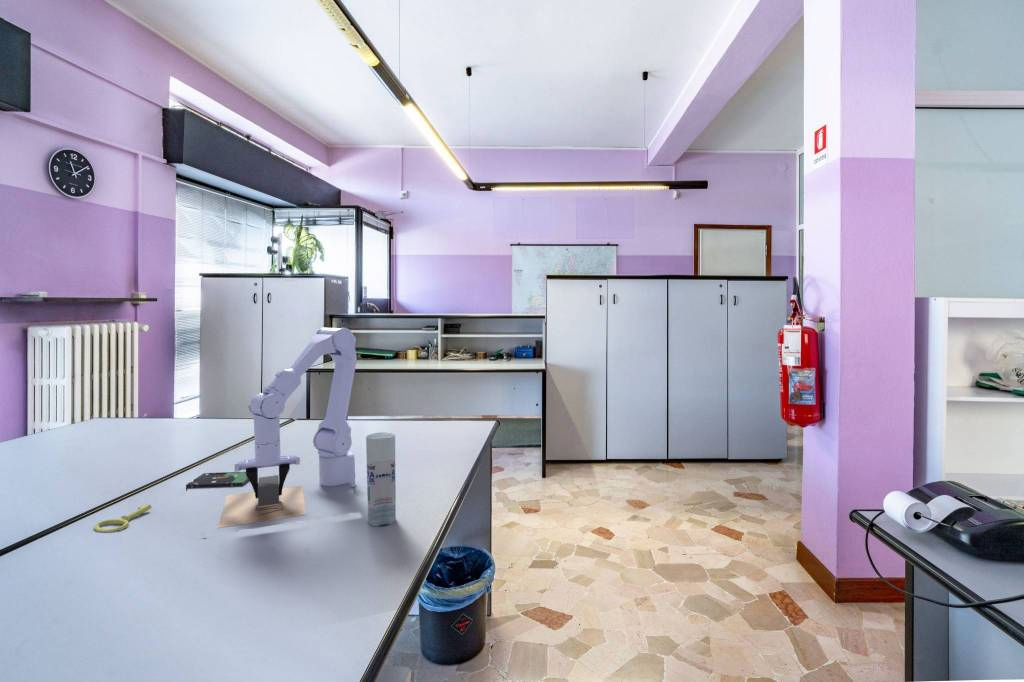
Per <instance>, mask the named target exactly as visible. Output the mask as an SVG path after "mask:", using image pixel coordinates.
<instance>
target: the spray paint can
mask: <svg viewBox="0 0 1024 682" xmlns="http://www.w3.org/2000/svg"><path fill="white" fill-rule="evenodd" d="M365 443H366V444H365V447H366V451H365V452H366V453H365V454H366V489H367V493H366V494H367V523H368V524H369V525H370V526H373V527H386V526H389V525H392V524H394V523H395V521H396V519H397V517H396V516H397V513H396V512H397V510H396V507H397V506H396V505H397V503H396V501H397V500H396V497H397V496H396V495H397V494H396V491H397V490H396V488H397V487H396V434H395V433H392V432H375V433H369V434H368V435H366V436H365Z"/></svg>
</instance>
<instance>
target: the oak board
mask: <svg viewBox="0 0 1024 682" xmlns="http://www.w3.org/2000/svg"><path fill="white" fill-rule="evenodd" d="M306 515H307V511H306V505H305V497H304V488H303V485H297V486H289V487H283V489H282V495H279V505H274V506H267V507H260V508H258V498H257V499H256V497H255V492H254V491H251V492H250V491H249V492H241V493H233V494H227V495H226V498H225V500H224V504H223V508H222V511H221V515H220V518H219V522H218V525H217V529H221V528H228V527H234V526H241V525H249V524H255V523H262V522H267V521H273V520H281V519H288V518H295V517H301V516H306Z"/></svg>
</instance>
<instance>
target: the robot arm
mask: <svg viewBox="0 0 1024 682" xmlns="http://www.w3.org/2000/svg"><path fill="white" fill-rule="evenodd" d="M356 342H357V337H356V336H355V334H353V332H352V331H351V330H350V329H349V328H348V327H347V328H346V327H341V328H339V327H326V326H325V327H324V326H323V327H320V328H319V329H318V330H317V331H316V333H315V334H313V335H312V336H311V338H310V342H309V343H308V344H307V346H306V347H305V348H304V350H303V351H302V352H301V353H300V354H299V356H298V357H297V359H296V360H294V362H293V364H291V366H290V367H289V368H286V369H282V370H281V371H276V373H275V374H274V376H275V377H274V378H273V379H272V381H271V382H270V383H269V384H268V385H267V387H266V386H265V387H263V388H262V392H260V393H256V395H254V396H253V397H252V399H251V400H250V404H248V405H247V406H248V411H249V412H250V414H251V415H252V416H253V431H254V432H253V434H254V439H253V440H254V458H250V459H245V460H238V461H235V462H234V472H241V471H245V472H246V476H247V478H248V479H249V482H250V485H251V486H252V489H253V492H255V497H256V499H257V498H258V482H259V475H258V473H259V471H258V469H262V468H263V469H264V468H272V467H278V478H279V495H282V489H283V488H284V484H285V481H286V478H287V476H288V474H289V471H290V469H291V468H290V466H291V465H295V466H297V465H301V460H300V459H301V456H300V454H295V455H281V426H280V415H281V414H282V413H283V412H284V410H285V407H286V406H285V405H286V402H287V400H288V399H289V398H290V397H291V396H292V394H293V393H294V392H295V391H296V390H297V388H298V387H299V386H301V384H302V381H301V380H302V378H301V377H302V376H303V375H304V374H305V373H306V372H307V371H308V369H310V367H312V366H313V365H314V363H316V362H317V360H319V358H321V356H324V355H329V356H330V358H331V359H332V360H333V362H334V363H335V364H334V370H333V375H332V376H333V377H332V380H331V384H330V385H331V386H330V390H329V397H328V402H327V409H326V412H325V413H326V414H325V418H324V419H323V420H322V421H321V422H320V423H318V428H317V431H316V432H315V433H314V436H313V440H312V443H313V447H314V448H315V449H316V450H317V454H318V462H319V463H318V466H319V469H318V471H319V472H318V473H319V474H318V476H319V477H318V478H319V480H318V481H319V485H320V486H322V487H323V486H324V487H335V486H340V485H344V484H350V487H351V488H355V487H356V461H355V460H356V459H355V453H354V452H353V451H352V452H351V451H350V449H351V447H352V442H353V440H352V436H351V433H352V428H351V426H350V425H349V423H348V422H347V417H348V412H349V411H348V410H349V406H350V400H351V394H352V388H353V384H354V378H355V372H356V366H357V361H358V360H357V359H358V358H357V350H356Z"/></svg>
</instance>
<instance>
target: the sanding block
mask: <svg viewBox="0 0 1024 682" xmlns="http://www.w3.org/2000/svg"><path fill="white" fill-rule="evenodd" d="M274 505H279V474H276V475H269V476H260V477H259V476H258V508H260V507H267V506H274Z"/></svg>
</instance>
